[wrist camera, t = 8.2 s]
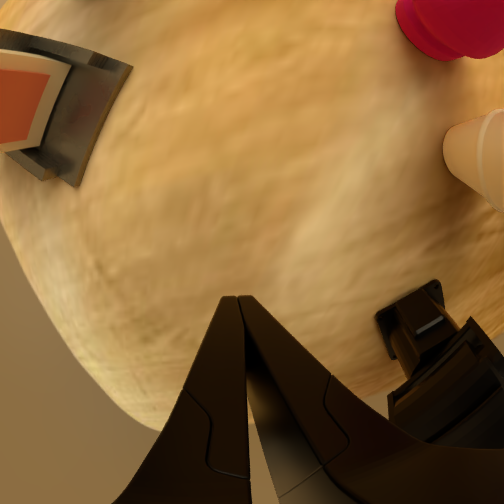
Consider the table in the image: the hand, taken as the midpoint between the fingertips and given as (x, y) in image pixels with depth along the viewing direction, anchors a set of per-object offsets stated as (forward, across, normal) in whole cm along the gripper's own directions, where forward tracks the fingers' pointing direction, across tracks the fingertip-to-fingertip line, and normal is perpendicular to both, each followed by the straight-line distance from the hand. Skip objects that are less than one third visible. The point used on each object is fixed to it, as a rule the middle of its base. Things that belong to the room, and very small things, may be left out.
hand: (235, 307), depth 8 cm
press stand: (+16, +14, -7) cm, 23 cm away
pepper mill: (+11, -14, -15) cm, 24 cm away
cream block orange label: (+15, +15, -7) cm, 22 cm away
